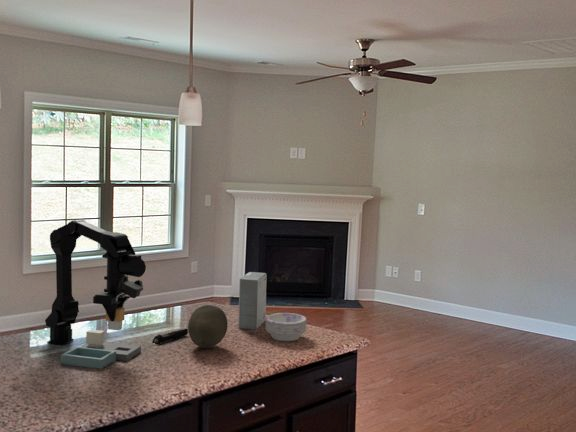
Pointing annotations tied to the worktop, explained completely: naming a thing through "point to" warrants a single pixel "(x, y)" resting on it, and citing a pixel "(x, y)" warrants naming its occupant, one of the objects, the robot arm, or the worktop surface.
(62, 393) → the worktop surface
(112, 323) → the block
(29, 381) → the worktop surface
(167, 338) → the electric trimmer
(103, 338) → the block
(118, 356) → the block
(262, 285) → the hard drive box
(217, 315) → the cantaloupe
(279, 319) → the paper bowls
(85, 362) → the parts tray
